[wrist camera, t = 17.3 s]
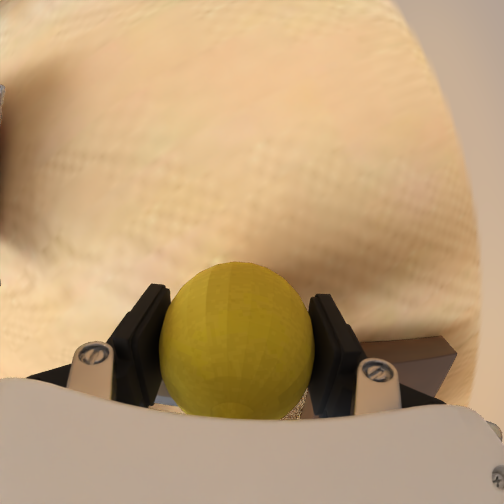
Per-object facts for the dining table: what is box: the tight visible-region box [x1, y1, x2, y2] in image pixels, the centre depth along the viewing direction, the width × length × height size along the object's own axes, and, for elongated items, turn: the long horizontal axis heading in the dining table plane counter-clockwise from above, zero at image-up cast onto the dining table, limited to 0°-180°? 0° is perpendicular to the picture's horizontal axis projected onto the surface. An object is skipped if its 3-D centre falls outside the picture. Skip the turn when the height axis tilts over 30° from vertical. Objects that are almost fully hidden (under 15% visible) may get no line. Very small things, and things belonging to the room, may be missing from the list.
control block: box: [300, 336, 457, 419], centre depth 15 cm, size 12×9×4 cm
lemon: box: [159, 262, 315, 420], centre depth 10 cm, size 6×6×8 cm
